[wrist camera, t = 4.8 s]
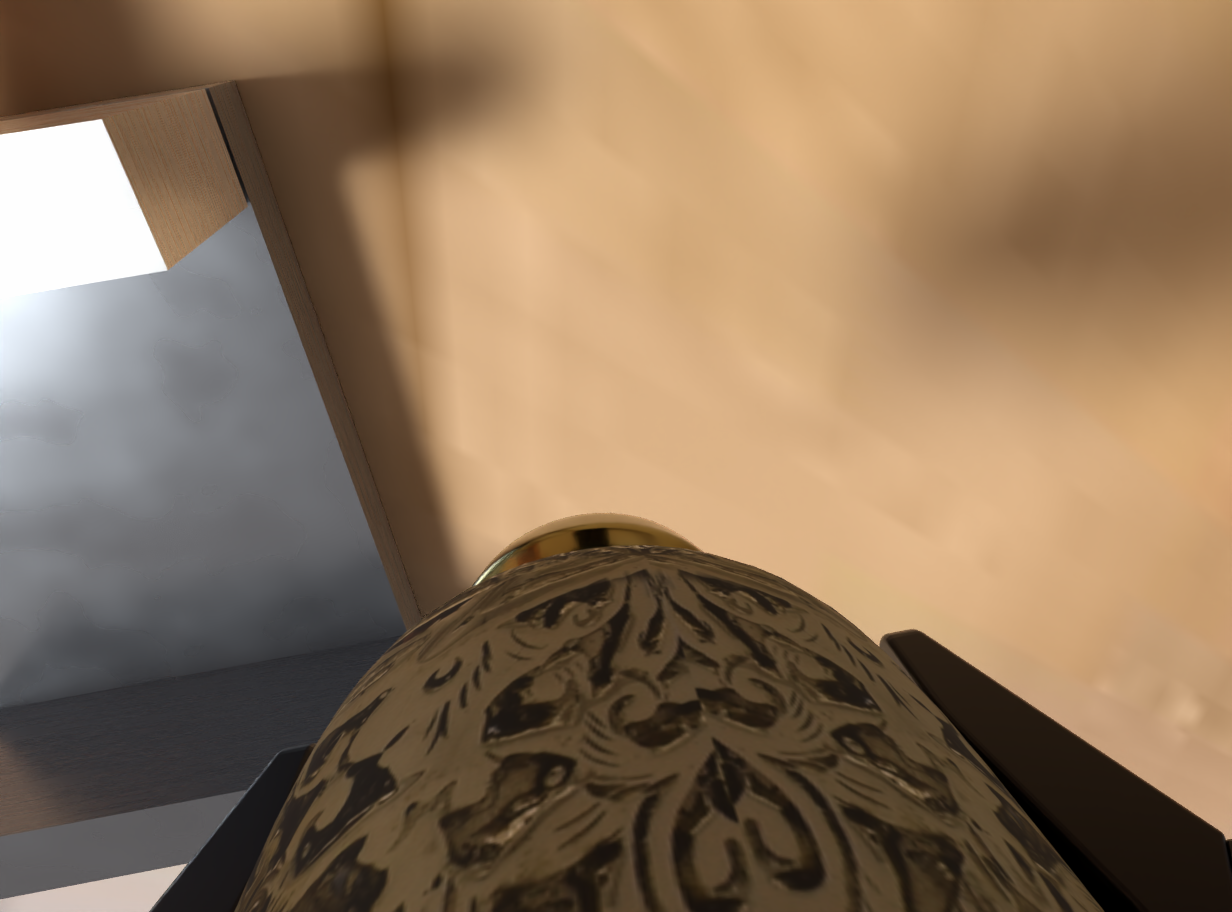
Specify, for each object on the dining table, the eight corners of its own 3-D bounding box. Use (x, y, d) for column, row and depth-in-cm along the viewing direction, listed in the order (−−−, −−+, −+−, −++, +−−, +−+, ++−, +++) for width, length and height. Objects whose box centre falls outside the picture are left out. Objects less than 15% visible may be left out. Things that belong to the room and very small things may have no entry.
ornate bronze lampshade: (295, 322, 8) (-624, 1719, 2) (924, 373, 10) (1928, 1279, 3) (326, 780, 12) (89, 1810, 5) (781, 775, 13) (1071, 1600, 6)
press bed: (234, 79, 15) (107, 117, 10) (432, 649, 23) (412, 820, 18) (-358, 173, 15) (-774, 256, 10) (47, 719, 22) (-77, 913, 18)
